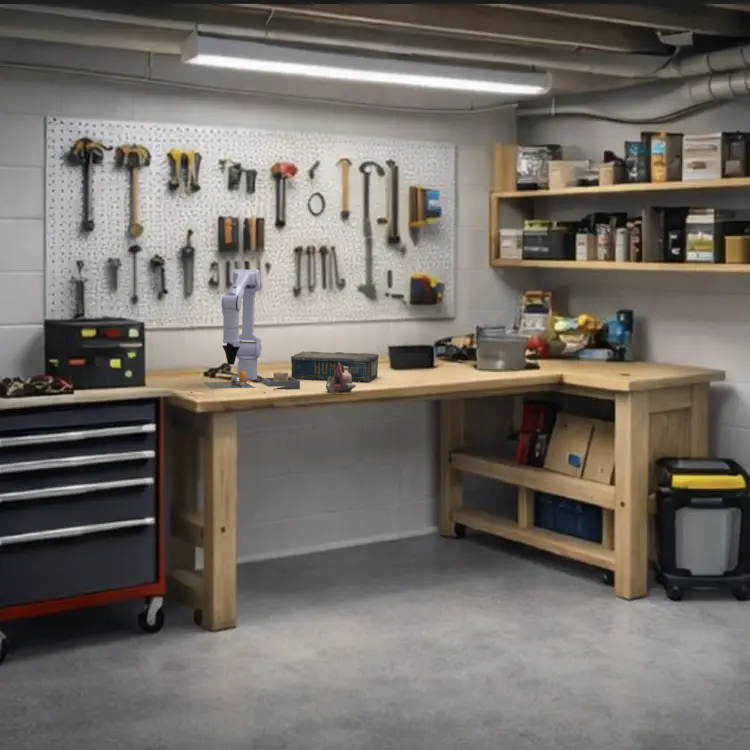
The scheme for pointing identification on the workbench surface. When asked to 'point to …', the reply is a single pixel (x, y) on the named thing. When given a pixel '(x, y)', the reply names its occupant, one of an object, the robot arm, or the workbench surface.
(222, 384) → the crank base
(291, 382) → the tray
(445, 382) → the workbench surface
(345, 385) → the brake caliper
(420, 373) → the workbench surface
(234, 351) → the robot arm
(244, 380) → the crank
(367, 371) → the metal box
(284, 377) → the block
